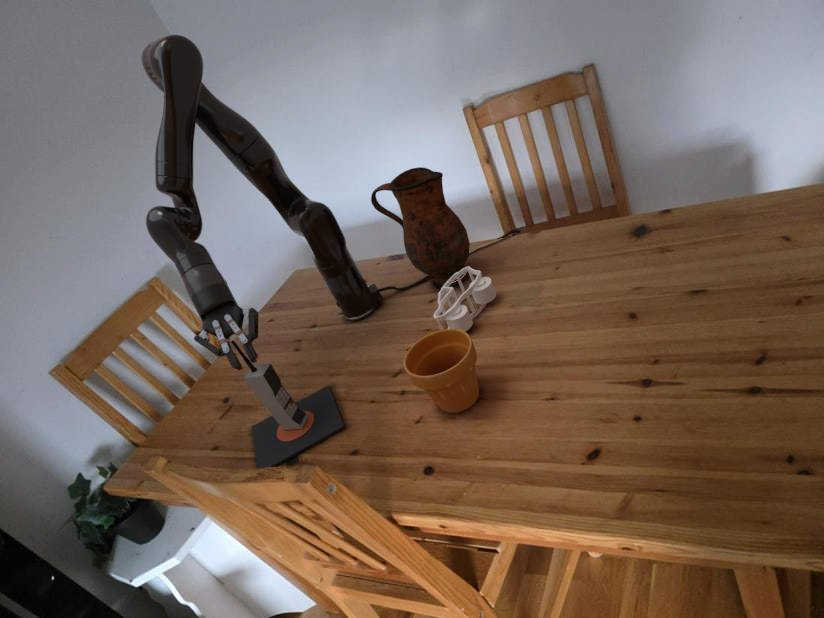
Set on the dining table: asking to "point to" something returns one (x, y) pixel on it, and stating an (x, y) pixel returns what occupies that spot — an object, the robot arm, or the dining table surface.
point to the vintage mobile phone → (273, 394)
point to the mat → (297, 430)
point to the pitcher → (428, 225)
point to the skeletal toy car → (459, 313)
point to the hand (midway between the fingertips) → (247, 365)
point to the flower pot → (445, 369)
